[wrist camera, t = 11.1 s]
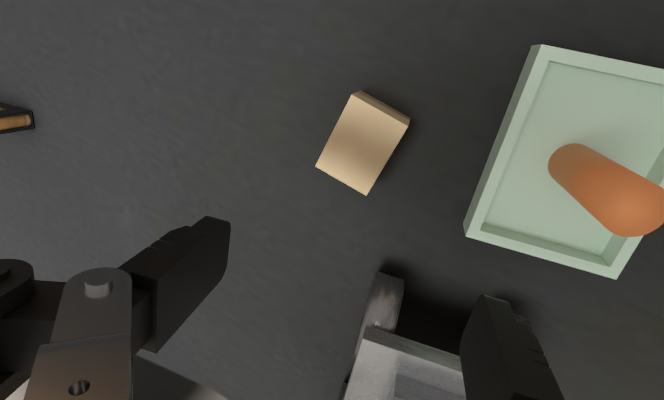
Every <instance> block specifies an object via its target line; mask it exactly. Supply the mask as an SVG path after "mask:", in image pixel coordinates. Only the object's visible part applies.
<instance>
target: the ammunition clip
mask: <svg viewBox="0 0 664 400" xmlns="http://www.w3.org/2000/svg"><path fill="white" fill-rule="evenodd" d="M28 129H34V124H33V117H32V112H31V110H27V109H23V108H19V107H15V106H11V105H8V104H4V103H0V134H4V133H10V132H16V131H22V130H28Z"/></svg>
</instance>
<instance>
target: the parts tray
mask: <svg viewBox="0 0 664 400" xmlns="http://www.w3.org/2000/svg"><path fill="white" fill-rule="evenodd" d="M573 143H576V144H582V145H585V146H587V147H589V148H590V149H592V150H594V151H596V152H598V153H600V154H602V155H603V156H605V157H607V158H609V159H611V160H613V161H615V162H616V163H618V164H620V165H622V166H624V167H626V168H627V169H629V170H631V171H633V172H635V173H637V174H639V175H640V176H642V177H644V178H646V179H648V180H650V181H652V182H653V183H655V184H657V185H659V186H660V187H662V188H663V189H664V69H660V68H655V67H650V66H645V65H640V64H635V63H631V62H626V61H621V60H616V59H611V58H606V57H602V56H597V55H592V54H587V53H582V52H577V51H572V50H568V49H563V48H558V47H553V46H548V45H543V44H539V45H532V46H531V48H530V51H529V54H528V56H527V59H526V61H525V64H524V66H523V69H522V72H521V74H520V77H519V79H518V82H517V85H516V87H515V90H514V92H513V95H512V98H511V100H510V103H509V105H508V108H507V110H506V113H505V116H504V118H503V121H502V123H501V126H500V129H499V131H498V134H497V136H496V139H495V141H494V144H493V147H492V149H491V152H490V154H489V157H488V160H487V162H486V165H485V167H484V170H483V173H482V175H481V178H480V180H479V183H478V185H477V188H476V191H475V193H474V196H473V198H472V201H471V204H470V206H469V209H468V211H467V214H466V216H465V219H464V222H463V227H464V232H465V236H466V237H469V238H473V239H476V240H480V241H483V242H487V243H490V244H494V245H497V246H501V247H504V248H508V249H511V250H514V251H518V252H521V253H525V254H528V255H532V256H535V257H539V258H542V259H546V260H549V261H553V262H556V263H560V264H563V265H567V266H570V267H574V268H577V269H581V270H584V271H588V272H591V273H595V274H598V275H602V276H605V277H609V278H612V279H617V278H618V276H619V275H620V273H621V271H622V270H623V268H624V266H625V265H626V263H627V262H628V260H629V258H630V257H631V255H632V253H633V252H634V250H635V249H636V247H637V245H638V244H639V242H640V240H641V239H642V237H643V236H644V235H642V236H637V237H623V236H619V235H616V234H614V233H612V232H610V231H609V230H608V229H606V228H605V227H604V226H603V225H602V224H601V223H600V222H599V221H598V220H597V219H596V218H595V217H594V216H593V215H591V214H590V213H589V212H588V211H587V210H586V209H585V208H584V207H583V206H582V205H581V204H580V203H579V202H578V201H577V200H575V199H574V198H573V197H572V196H571V195H570V194H569V193H568V192H567V191H566V190H565V189H564V188H563V187H562V186H561V185H560V184H558V183H557V182H556V181H555V180H554V179H553V178H552V177H551V175H550V174H549V171H548V162H549V159H550V157H551V155H552V154H553V153H554V152H555V151H556V150H557V149H558V148H560V147H562V146H564V145H567V144H573Z"/></svg>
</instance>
